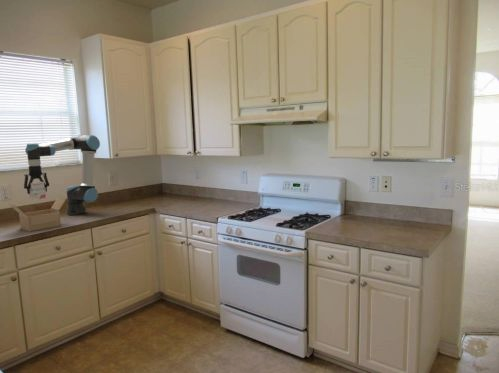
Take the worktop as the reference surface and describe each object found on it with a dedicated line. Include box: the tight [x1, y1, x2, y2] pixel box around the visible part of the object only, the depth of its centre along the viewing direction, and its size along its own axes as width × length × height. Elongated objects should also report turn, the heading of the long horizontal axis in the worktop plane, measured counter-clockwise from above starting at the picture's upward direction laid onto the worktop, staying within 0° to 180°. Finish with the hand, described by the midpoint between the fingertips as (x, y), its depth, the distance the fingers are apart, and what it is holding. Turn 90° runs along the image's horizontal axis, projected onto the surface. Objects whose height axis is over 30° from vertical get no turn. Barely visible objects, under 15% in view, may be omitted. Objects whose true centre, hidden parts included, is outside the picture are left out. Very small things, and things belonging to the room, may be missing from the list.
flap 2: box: [50, 196, 67, 211], centre depth 282 cm, size 1×13×10 cm
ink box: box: [29, 181, 46, 201], centre depth 270 cm, size 9×5×12 cm, turn 141°
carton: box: [18, 208, 62, 233], centre depth 273 cm, size 21×17×10 cm
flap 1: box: [8, 203, 27, 216], centre depth 261 cm, size 1×13×10 cm
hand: (37, 197), depth 271 cm, fingers closed on ink box, 9 cm apart
